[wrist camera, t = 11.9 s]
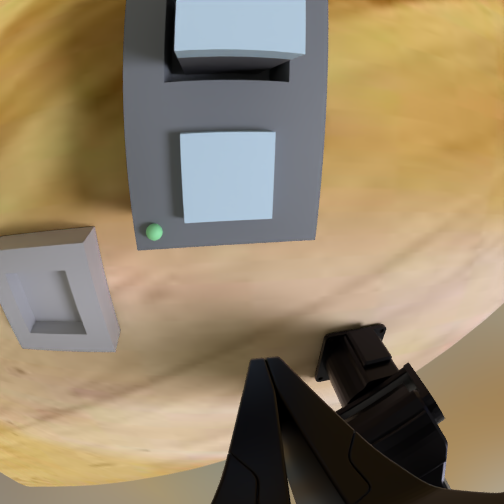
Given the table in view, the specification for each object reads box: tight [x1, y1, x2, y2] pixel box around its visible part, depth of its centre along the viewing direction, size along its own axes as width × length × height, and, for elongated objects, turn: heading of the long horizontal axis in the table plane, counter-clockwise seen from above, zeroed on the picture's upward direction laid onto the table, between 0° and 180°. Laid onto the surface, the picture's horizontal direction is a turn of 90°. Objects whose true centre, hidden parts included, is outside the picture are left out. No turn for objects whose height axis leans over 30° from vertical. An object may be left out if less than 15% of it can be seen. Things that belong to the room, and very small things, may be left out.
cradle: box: [0, 226, 121, 352], centre depth 19 cm, size 9×9×2 cm
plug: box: [174, 0, 306, 75], centre depth 10 cm, size 4×4×8 cm
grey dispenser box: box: [123, 0, 328, 250], centre depth 14 cm, size 14×9×6 cm, turn 179°
